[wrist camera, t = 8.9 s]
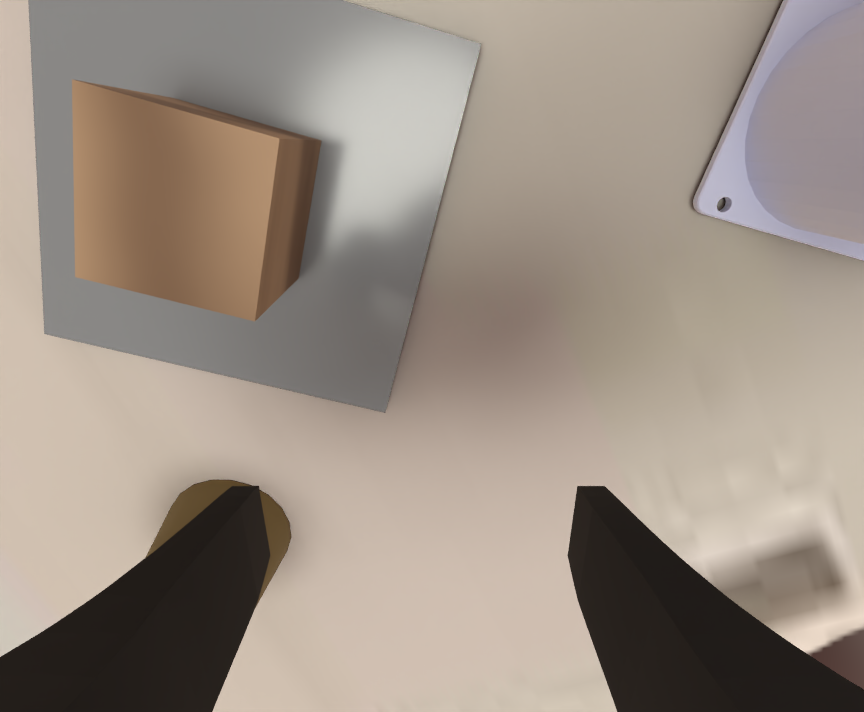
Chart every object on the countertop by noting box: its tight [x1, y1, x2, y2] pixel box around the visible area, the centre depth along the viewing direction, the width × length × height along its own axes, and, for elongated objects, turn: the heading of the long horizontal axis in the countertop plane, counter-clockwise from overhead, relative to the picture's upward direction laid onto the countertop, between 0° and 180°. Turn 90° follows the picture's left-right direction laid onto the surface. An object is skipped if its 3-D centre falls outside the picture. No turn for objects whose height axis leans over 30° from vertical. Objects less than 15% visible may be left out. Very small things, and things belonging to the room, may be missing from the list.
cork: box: [146, 480, 291, 606], centre depth 20 cm, size 6×6×11 cm
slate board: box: [29, 0, 481, 413], centre depth 18 cm, size 14×14×1 cm
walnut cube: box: [72, 79, 321, 321], centre depth 15 cm, size 5×5×5 cm
